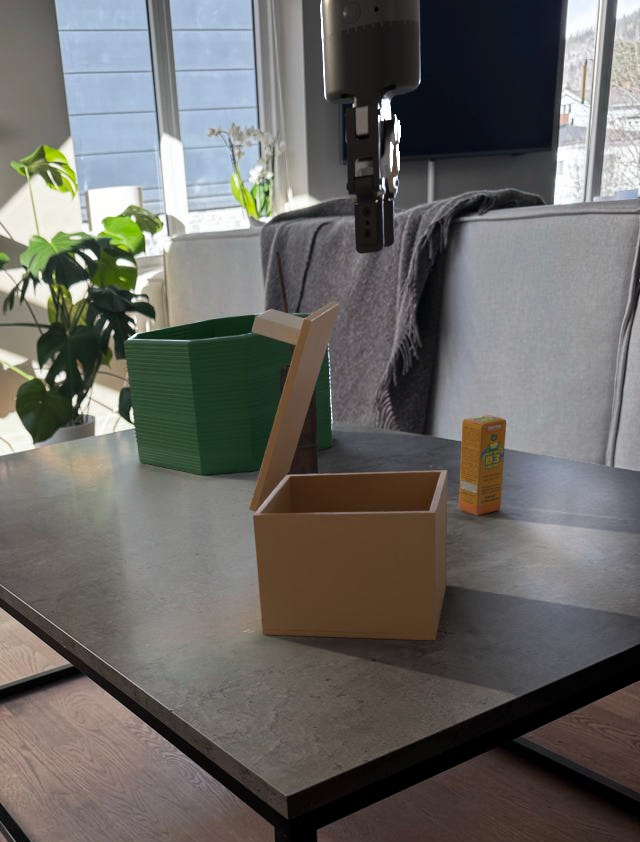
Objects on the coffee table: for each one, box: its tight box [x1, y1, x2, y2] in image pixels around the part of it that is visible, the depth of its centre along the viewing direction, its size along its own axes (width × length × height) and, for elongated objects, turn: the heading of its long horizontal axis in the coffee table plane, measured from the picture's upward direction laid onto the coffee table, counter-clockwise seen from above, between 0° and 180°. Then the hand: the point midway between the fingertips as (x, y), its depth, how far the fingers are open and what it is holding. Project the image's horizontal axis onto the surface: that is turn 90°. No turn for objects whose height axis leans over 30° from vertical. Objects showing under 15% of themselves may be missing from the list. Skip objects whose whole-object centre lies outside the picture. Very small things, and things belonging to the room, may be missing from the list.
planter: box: [123, 312, 334, 476], centre depth 137 cm, size 26×26×18 cm
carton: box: [252, 469, 448, 641], centre depth 77 cm, size 14×12×10 cm
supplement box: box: [458, 414, 507, 516], centre depth 98 cm, size 3×3×10 cm
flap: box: [248, 300, 341, 513], centre depth 74 cm, size 15×12×5 cm
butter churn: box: [275, 251, 319, 475], centre depth 114 cm, size 9×10×28 cm
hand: (376, 249), depth 78 cm, fingers open, 8 cm apart
